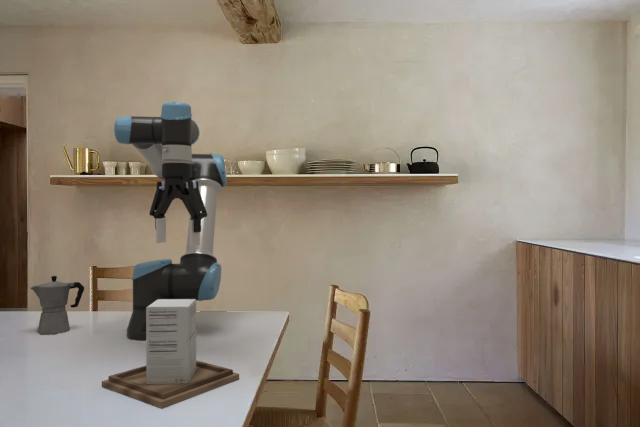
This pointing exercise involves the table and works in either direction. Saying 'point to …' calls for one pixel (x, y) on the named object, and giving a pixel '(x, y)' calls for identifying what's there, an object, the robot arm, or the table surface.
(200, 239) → the robot arm
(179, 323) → the supplement box
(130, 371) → the walnut tray
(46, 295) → the coffeepot
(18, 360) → the table surface
